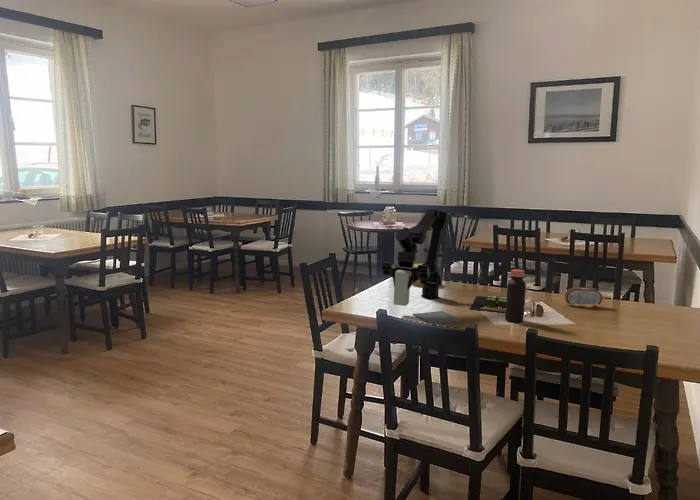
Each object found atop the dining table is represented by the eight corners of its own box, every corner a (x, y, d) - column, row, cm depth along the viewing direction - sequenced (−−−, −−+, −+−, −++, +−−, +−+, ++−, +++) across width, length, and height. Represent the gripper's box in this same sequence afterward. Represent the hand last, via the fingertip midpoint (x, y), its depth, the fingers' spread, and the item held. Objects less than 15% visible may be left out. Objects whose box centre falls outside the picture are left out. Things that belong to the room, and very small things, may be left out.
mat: (442, 311, 218) (442, 310, 218) (462, 321, 205) (462, 320, 205) (412, 314, 212) (412, 313, 212) (431, 324, 200) (431, 323, 200)
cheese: (433, 287, 263) (434, 267, 261) (411, 286, 263) (412, 266, 261) (430, 282, 273) (431, 263, 271) (409, 281, 273) (410, 262, 271)
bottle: (524, 323, 204) (528, 272, 201) (505, 322, 205) (509, 271, 202) (522, 319, 210) (525, 269, 207) (504, 317, 212) (507, 268, 209)
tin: (599, 306, 233) (601, 287, 232) (602, 308, 230) (603, 289, 229) (563, 304, 234) (565, 286, 233) (565, 306, 231) (567, 287, 230)
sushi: (469, 311, 222) (470, 302, 222) (476, 297, 246) (477, 289, 245) (532, 318, 214) (533, 309, 214) (533, 303, 238) (534, 295, 237)
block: (396, 301, 214) (398, 269, 212) (408, 302, 212) (410, 270, 210) (393, 304, 209) (395, 272, 207) (405, 306, 208) (407, 273, 205)
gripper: (383, 242, 214) (374, 274, 205) (429, 245, 208) (422, 278, 199) (387, 258, 222) (379, 289, 214) (432, 261, 216) (425, 294, 208)
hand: (401, 287), depth 208 cm, fingers closed on block, 5 cm apart
